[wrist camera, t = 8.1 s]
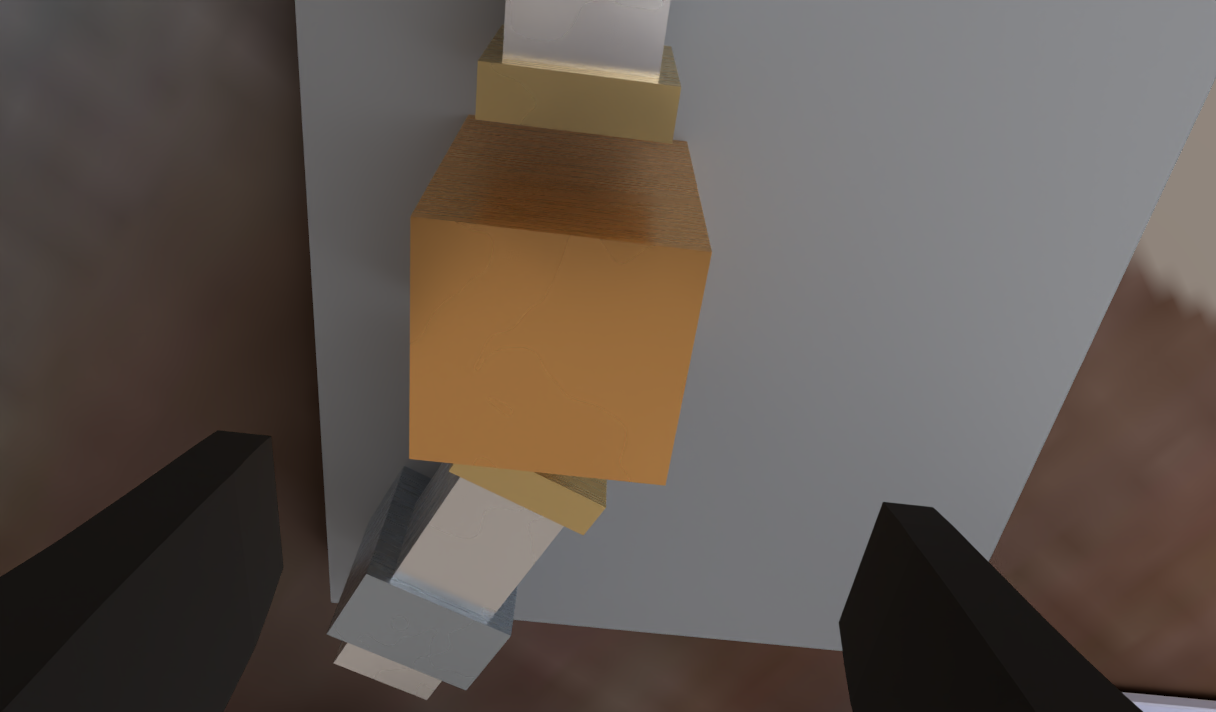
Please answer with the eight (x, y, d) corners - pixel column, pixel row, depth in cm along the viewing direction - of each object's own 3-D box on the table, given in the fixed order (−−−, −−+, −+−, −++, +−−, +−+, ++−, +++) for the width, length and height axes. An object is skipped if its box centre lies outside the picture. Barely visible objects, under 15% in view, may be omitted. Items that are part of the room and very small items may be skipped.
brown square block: (654, 330, 18) (665, 485, 13) (461, 309, 18) (409, 458, 13) (687, 142, 16) (711, 252, 11) (468, 114, 16) (410, 216, 11)
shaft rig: (757, -454, 12) (805, -559, 9) (591, 605, 22) (587, 726, 19) (340, -521, 11) (237, -654, 8) (370, 583, 22) (329, 703, 19)
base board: (1375, -413, 13) (1460, -443, 12) (924, 616, 24) (942, 660, 23) (294, -590, 12) (256, -643, 11) (347, 560, 23) (330, 602, 22)
